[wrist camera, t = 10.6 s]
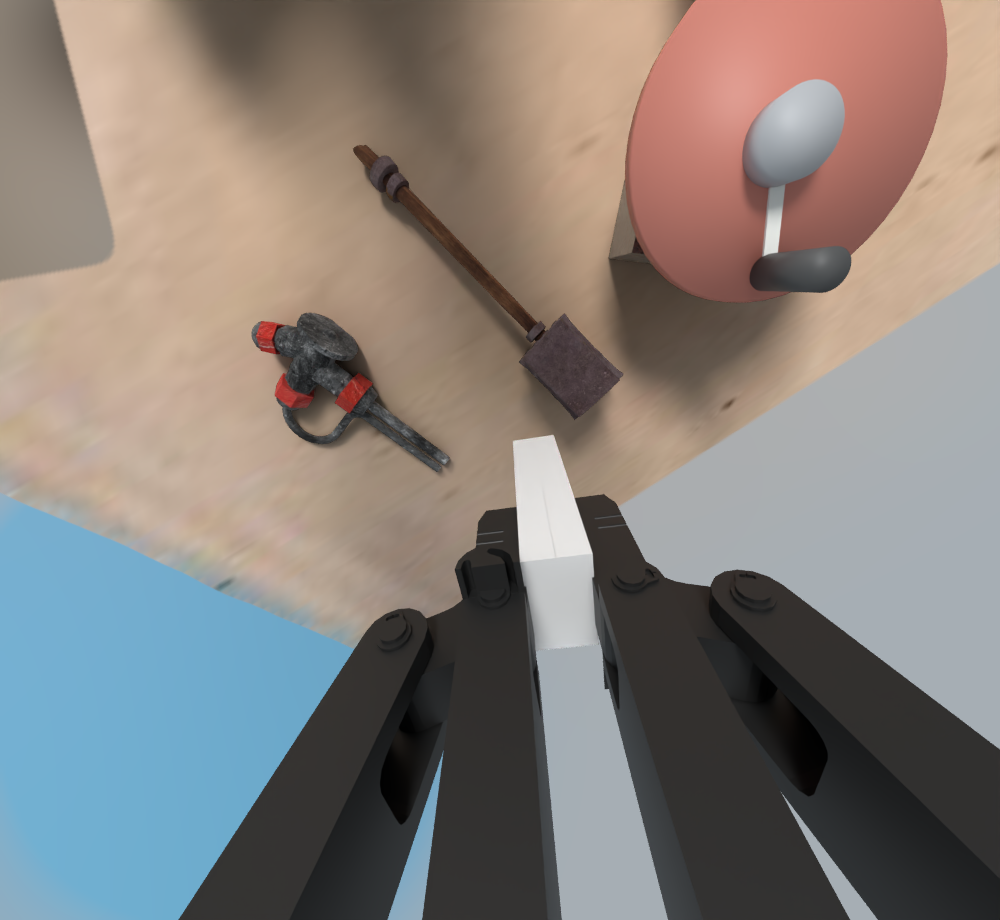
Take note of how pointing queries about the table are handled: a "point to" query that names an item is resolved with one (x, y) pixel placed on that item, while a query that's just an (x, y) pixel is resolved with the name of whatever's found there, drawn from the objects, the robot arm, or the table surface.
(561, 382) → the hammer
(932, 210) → the table surface
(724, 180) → the handwheel
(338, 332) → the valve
